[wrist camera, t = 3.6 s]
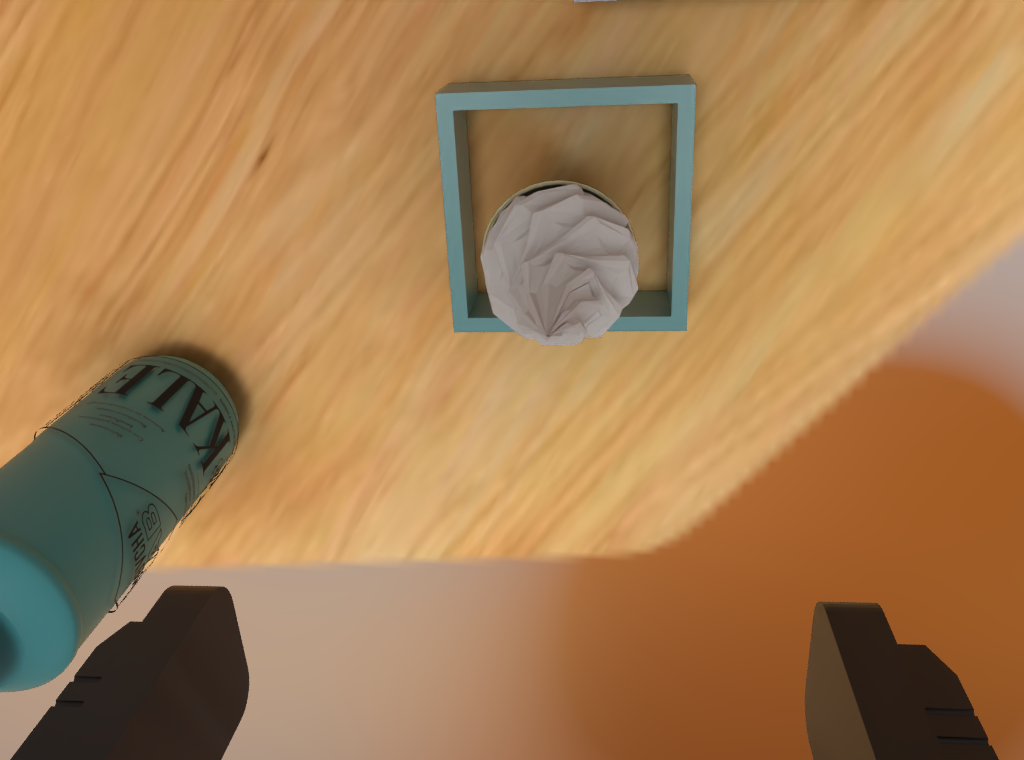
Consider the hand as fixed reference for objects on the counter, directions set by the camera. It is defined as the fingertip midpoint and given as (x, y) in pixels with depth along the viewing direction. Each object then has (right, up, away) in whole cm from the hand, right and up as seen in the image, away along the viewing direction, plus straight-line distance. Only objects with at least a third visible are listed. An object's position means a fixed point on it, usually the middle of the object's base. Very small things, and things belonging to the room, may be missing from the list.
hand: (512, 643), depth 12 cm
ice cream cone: (+2, +11, +24) cm, 26 cm away
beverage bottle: (-15, +3, +30) cm, 33 cm away
